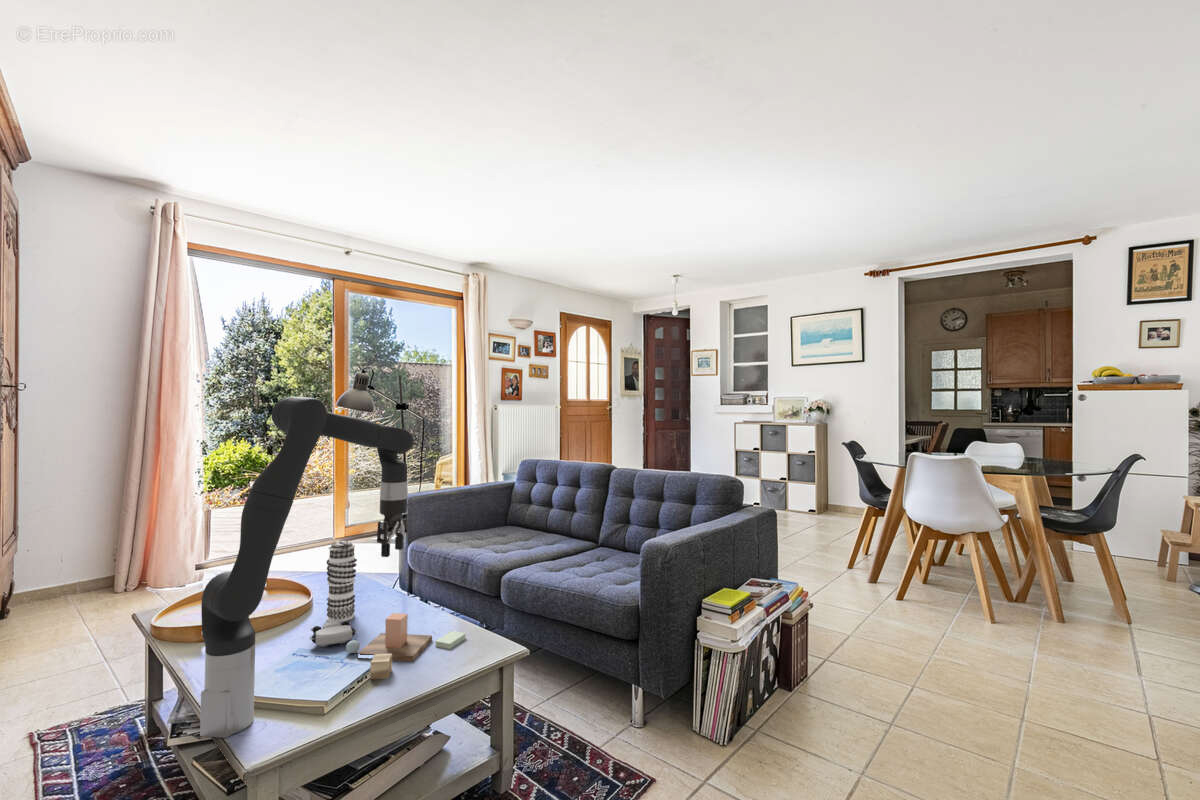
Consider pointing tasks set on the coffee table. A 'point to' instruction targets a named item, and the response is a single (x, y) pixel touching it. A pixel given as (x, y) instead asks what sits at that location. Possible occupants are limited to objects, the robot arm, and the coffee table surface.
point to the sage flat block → (450, 639)
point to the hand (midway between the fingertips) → (392, 552)
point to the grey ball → (352, 646)
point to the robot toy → (332, 633)
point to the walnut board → (404, 653)
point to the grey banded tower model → (341, 581)
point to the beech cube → (381, 666)
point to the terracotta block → (396, 630)
